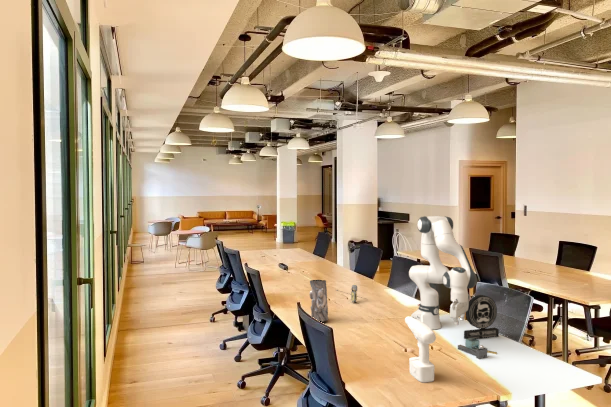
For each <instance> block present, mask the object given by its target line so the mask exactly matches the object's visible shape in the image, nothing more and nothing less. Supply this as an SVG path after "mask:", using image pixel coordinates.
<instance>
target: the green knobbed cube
mask: <svg viewBox="0 0 611 407" xmlns="http://www.w3.org/2000/svg"><path fill="white" fill-rule="evenodd" d="M465 346H466V347H468V348H471V349H473V348H475V349H480V339H474V338H469V339H465Z"/></svg>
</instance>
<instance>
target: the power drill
mask: <svg viewBox="0 0 611 407" xmlns="http://www.w3.org/2000/svg"><path fill="white" fill-rule="evenodd" d="M404 322H405V324H406V325H407V326H408V328H409V329H410V331H411V333H412V334H413V336H414V338H415V339H416V340H417V347H418V356H414V357H413V356H412V357H409V359H408V360H409V361H408V362H409V363H408V364H409V374H410V375H411V376H412V377H413V378H414V379H416V380H417V381H418V382H420V383H431V382H434V381H435V367H436V366H435V365H434V363H433V362H431V361H430V346H429V345H430V344H433V343H434V342H435V341H436V339H437V336H436V334H435V332H434V330H433V329H430V328H429V327H428V326H427V325H426V324H424V323H423V322H420V321H418V320H417V319H414V318H413V317H411V316H406V317H405V318H404Z"/></svg>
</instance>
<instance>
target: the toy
mask: <svg viewBox="0 0 611 407" xmlns="http://www.w3.org/2000/svg"><path fill="white" fill-rule="evenodd" d="M350 290H351V291H350V300H351V303H353V301H354V302H356V303H357V300H358V298H360V299H364V300H367V301H368V298H365V297H363V296H362V297H361V296H359V295H358V293H357V292H358V285H357V284H352V285H351V288H350ZM336 291H338V292H342V293H345V294H348V295H349V292H345V291H341V290H339V289H336Z"/></svg>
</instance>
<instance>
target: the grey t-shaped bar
mask: <svg viewBox="0 0 611 407" xmlns="http://www.w3.org/2000/svg"><path fill="white" fill-rule="evenodd" d="M457 350H459V351H462V352H464V353H466V354H469V355H472V356H473V357H474V356H475V358H476V359H478V360H481V359H482V360H483V359H485V358H488V353H487V350H488V348H486V347H484V345H483V344H481V345H480V344H479V349H477V348H475V349H474V348H472V349H471V348H468V347H466V345H463V344H457Z"/></svg>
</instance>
